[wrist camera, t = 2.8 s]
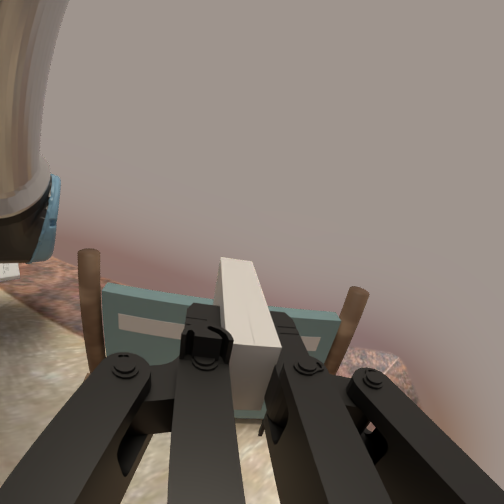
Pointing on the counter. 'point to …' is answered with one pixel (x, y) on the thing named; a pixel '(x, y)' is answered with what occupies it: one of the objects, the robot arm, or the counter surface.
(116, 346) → the gate door
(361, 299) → the gate frame
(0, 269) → the external hard drive
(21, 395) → the counter surface
